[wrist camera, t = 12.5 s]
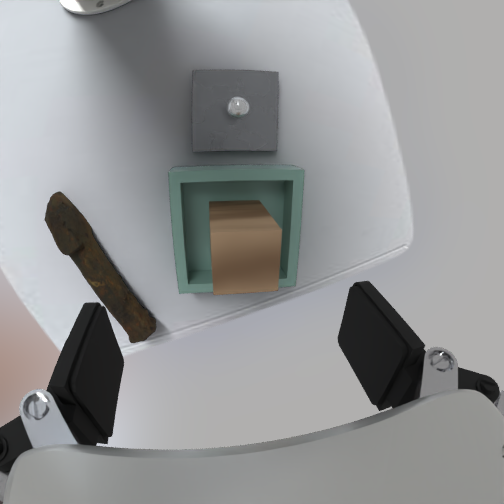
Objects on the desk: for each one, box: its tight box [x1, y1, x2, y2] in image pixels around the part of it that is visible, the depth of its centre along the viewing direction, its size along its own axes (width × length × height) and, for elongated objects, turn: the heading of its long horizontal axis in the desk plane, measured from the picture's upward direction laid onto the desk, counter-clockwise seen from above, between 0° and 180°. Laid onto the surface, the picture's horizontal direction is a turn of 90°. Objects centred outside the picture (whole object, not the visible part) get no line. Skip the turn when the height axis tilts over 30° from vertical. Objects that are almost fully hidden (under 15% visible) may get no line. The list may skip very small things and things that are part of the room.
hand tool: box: [45, 192, 156, 343], centre depth 27 cm, size 19×4×5 cm, turn 21°
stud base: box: [192, 70, 278, 152], centre depth 23 cm, size 8×8×4 cm
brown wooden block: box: [209, 200, 282, 295], centre depth 25 cm, size 5×5×9 cm
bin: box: [168, 165, 304, 294], centre depth 28 cm, size 12×12×4 cm
